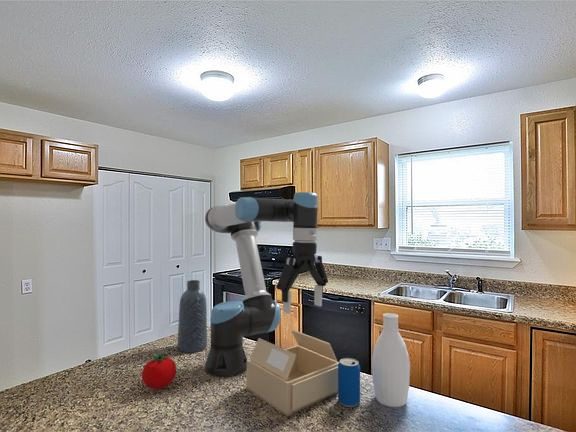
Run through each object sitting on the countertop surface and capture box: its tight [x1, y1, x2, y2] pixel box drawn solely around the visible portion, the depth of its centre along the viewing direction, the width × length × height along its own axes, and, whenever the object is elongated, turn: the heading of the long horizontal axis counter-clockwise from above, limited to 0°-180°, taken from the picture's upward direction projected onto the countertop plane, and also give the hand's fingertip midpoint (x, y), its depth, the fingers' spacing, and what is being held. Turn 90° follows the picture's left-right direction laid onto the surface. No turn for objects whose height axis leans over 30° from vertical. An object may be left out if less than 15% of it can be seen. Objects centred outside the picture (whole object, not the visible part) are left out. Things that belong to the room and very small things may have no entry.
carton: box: [246, 344, 340, 418], centre depth 107 cm, size 22×22×9 cm
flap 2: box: [290, 329, 338, 362], centre depth 112 cm, size 18×1×7 cm, turn 40°
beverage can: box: [337, 357, 361, 408], centre depth 100 cm, size 6×6×12 cm
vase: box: [176, 279, 208, 353], centre depth 143 cm, size 12×12×28 cm
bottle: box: [371, 312, 411, 408], centre depth 102 cm, size 11×11×25 cm
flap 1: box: [249, 337, 296, 380], centre depth 101 cm, size 18×1×7 cm
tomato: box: [141, 353, 177, 390], centre depth 108 cm, size 10×10×10 cm
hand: (303, 309), depth 106 cm, fingers open, 13 cm apart
